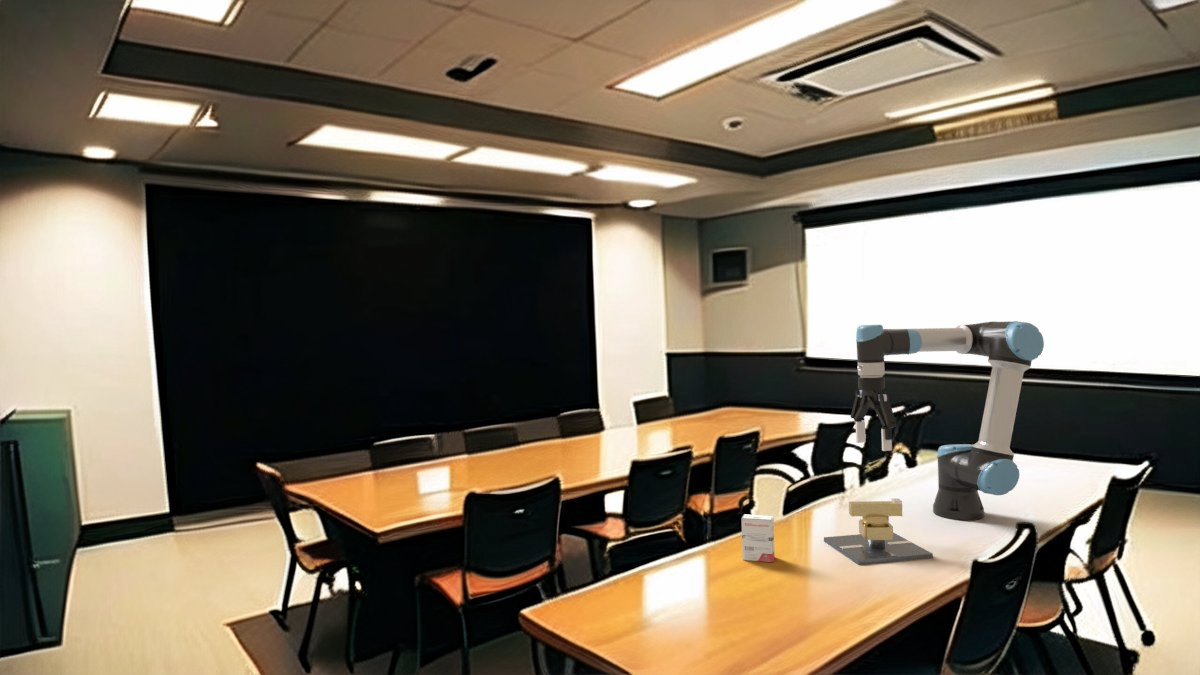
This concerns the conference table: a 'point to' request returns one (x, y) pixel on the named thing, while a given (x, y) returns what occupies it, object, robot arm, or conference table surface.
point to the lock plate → (877, 549)
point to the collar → (876, 517)
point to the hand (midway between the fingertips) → (873, 446)
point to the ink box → (758, 538)
